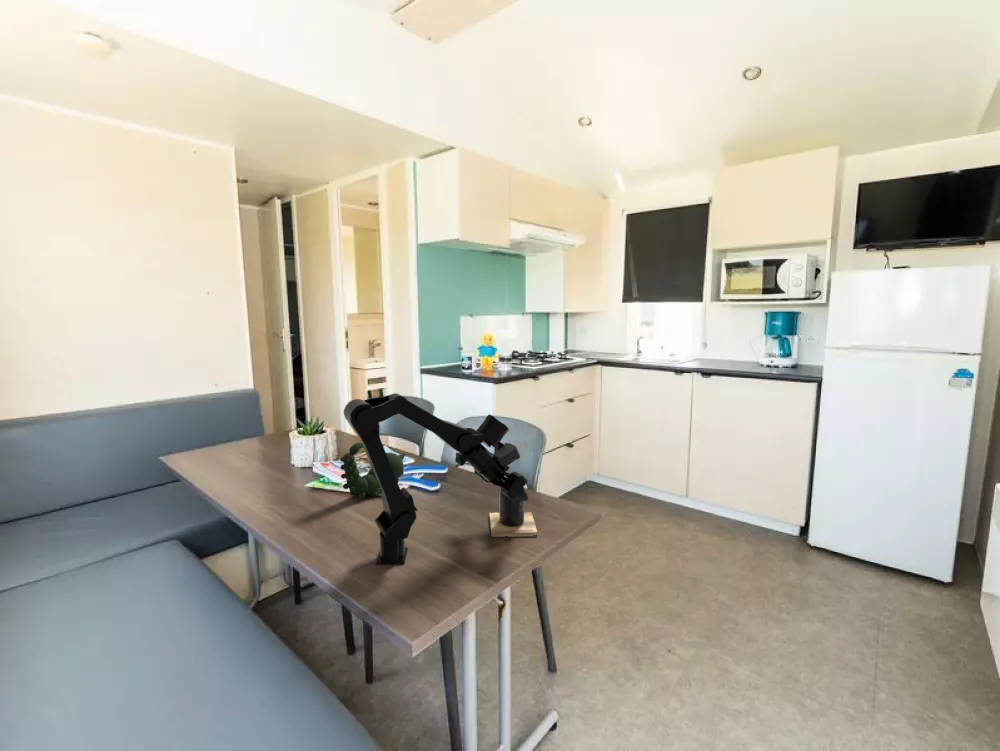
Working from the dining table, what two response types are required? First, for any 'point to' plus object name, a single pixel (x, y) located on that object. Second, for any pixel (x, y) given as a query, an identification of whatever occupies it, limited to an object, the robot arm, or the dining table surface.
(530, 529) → the coaster
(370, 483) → the toy figurine
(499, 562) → the dining table surface
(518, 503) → the supplement bottle
